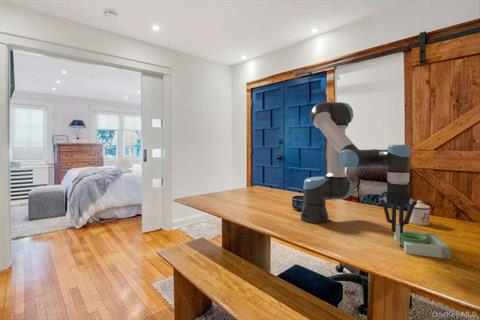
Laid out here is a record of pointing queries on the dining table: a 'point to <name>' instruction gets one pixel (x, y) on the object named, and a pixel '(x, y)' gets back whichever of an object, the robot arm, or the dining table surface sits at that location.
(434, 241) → the holder
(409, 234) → the ramekin
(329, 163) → the robot arm
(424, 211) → the teacup with lid
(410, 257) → the dining table surface
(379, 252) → the dining table surface
